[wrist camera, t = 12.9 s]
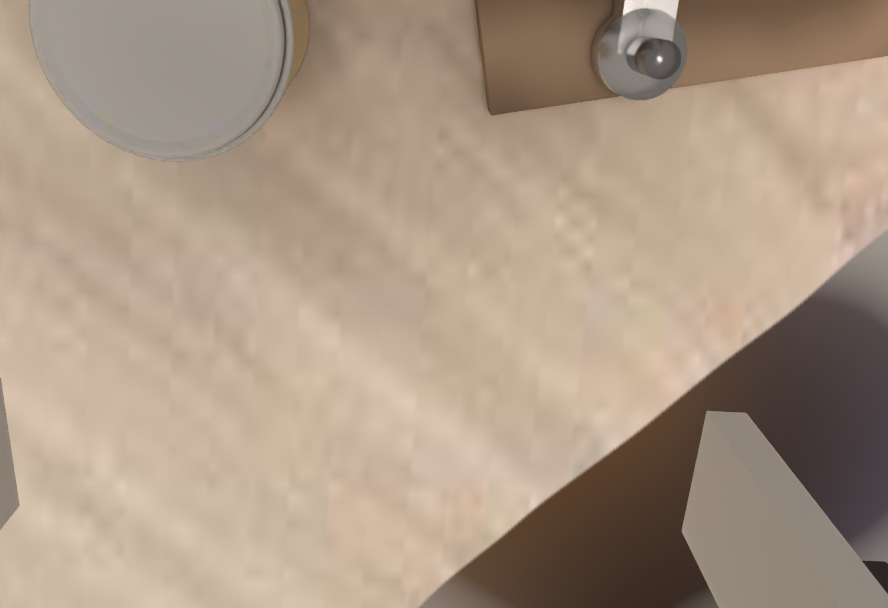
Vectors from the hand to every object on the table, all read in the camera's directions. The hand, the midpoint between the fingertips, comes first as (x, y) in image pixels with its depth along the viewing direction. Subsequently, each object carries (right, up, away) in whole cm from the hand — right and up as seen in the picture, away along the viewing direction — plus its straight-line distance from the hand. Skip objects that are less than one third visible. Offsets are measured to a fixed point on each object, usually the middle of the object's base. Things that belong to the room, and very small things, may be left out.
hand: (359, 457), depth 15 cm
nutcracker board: (+12, +25, +21) cm, 35 cm away
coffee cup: (-9, +17, +24) cm, 31 cm away
